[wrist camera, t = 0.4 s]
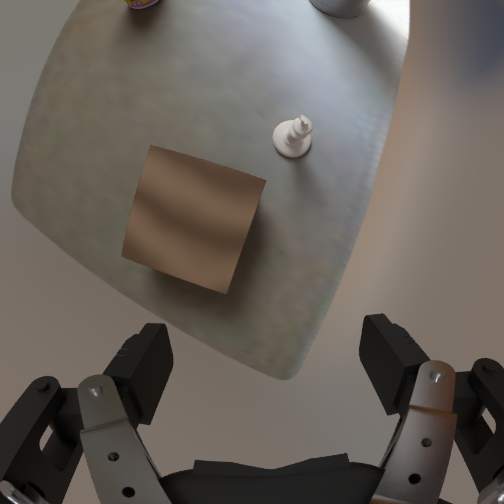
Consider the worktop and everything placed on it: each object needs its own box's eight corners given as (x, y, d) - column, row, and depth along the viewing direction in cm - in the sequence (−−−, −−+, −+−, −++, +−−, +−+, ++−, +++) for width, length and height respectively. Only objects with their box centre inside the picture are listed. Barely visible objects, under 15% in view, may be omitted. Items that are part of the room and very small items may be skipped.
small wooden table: (169, 151, 33) (150, 144, 26) (263, 181, 34) (266, 180, 27) (143, 243, 36) (121, 256, 29) (231, 274, 37) (226, 294, 30)
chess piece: (302, 116, 32) (319, 92, 22) (316, 150, 33) (339, 138, 23) (266, 127, 32) (271, 106, 23) (281, 162, 33) (291, 153, 24)
